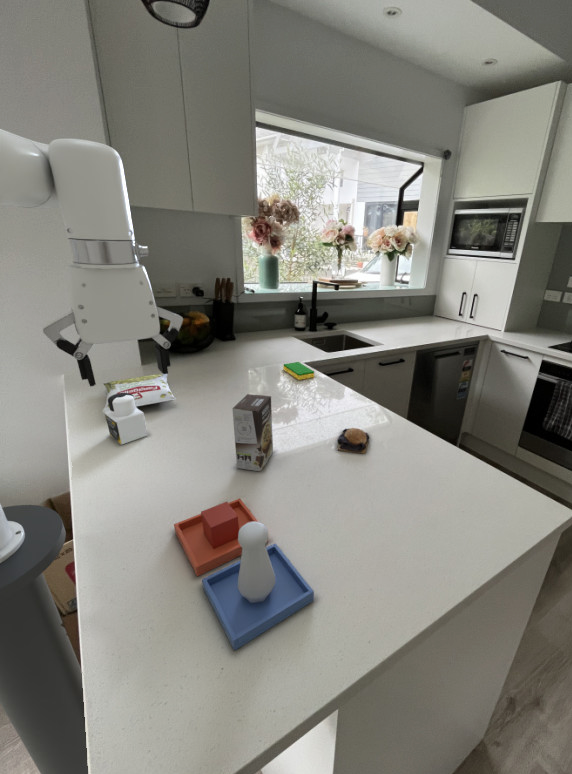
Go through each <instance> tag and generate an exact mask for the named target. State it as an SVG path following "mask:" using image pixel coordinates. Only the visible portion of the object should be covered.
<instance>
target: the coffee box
mask: <svg viewBox="0 0 572 774" xmlns="http://www.w3.org/2000/svg"><path fill="white" fill-rule="evenodd" d="M231 408H232V421H233V434H234V444H235V445H234V446H235V458H236V460H235V461H236V468H237V469H242V470H249V471H255V472H262V470H263V469H264V467H265V466H266V465H267V463H268V461H269V459H270V458H271V457H272V455H273V453H274V438H273V436H274V435H273V414H272V411H273V410H272V396H271V395H263V394H262V395H261V394H249V393H246V395H245V396H244V397H243V398H242V399H241V400H239V402H238V403H237V404H235V405H234V406H233V407H231Z"/></svg>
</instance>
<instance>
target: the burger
mask: <svg viewBox="0 0 572 774" xmlns="http://www.w3.org/2000/svg"><path fill="white" fill-rule="evenodd" d="M369 441H370V435H369V433H368V432H365V431H364V430H363V429H360V428H356V427H350V428H344V429H343V430H342V432H341V434H340V435H339V436H338V438H337V451H339V452H345V453H353V454H362V455H363V454H365V453H366V451H367V448H368V444H369Z"/></svg>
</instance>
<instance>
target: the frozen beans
mask: <svg viewBox="0 0 572 774" xmlns="http://www.w3.org/2000/svg"><path fill="white" fill-rule="evenodd" d="M168 375H169V373H168V374H163V373H157V374H150V375H144V376H136V377H129V378H124V379H118V380H111V381H109V382H105V383H103V385H104V386H105V389H106V391H107V392H106V399H105V405H104V407H103V409H102V413H104V414H105V413H106V412H109V411H110V408H109V404H108V398H109V397H110V396H112V395H114V394H118V393H130V394H132V395H133V396H134V399H135V404H136V408H139V407H143V406H148V405H153V404H158V403H164V402H172V401H175V400H177V398H176V396H175V395H174V394H173V392H172V391H171V389H170V386H169V383H168V379H167V378H168Z"/></svg>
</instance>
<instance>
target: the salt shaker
mask: <svg viewBox="0 0 572 774" xmlns="http://www.w3.org/2000/svg"><path fill="white" fill-rule="evenodd" d="M267 540H268V541H269V530H268V527H267V525H266V524H265V523H263V522H260V521H258V522H255V521H253V522H249V523H247V524H245V525H243V526H242V527H241V529H240V530H239V534H238V542H239V544H240V545H241V547H242V555H240V556H241V558H240V560H241V564H240V570H239V576H238V590H239V591H240V593H241V595H242V596H244V597H245V598H246V599H247V600H248V601H250V602H251V603H256V602H263V601H264V600H265V599H266V597H267V596H268V595H269V594H270V592H271V591H272V589H273V587H274V585H275V574H274V571H273V568H272V565H271V562H270V559H269V556H268V553H267V550H266V547H267V546H266V544H267V543H268V542H267ZM266 542H267V543H266Z"/></svg>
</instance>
